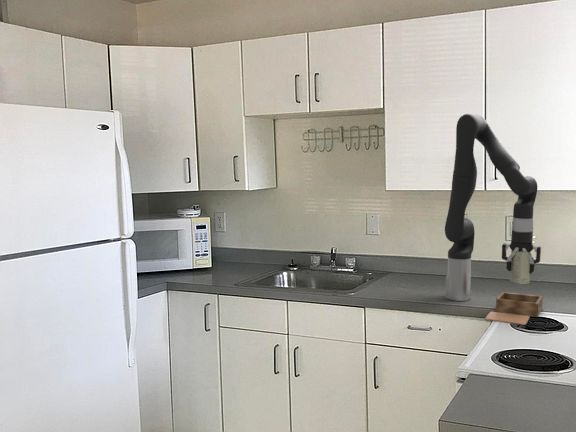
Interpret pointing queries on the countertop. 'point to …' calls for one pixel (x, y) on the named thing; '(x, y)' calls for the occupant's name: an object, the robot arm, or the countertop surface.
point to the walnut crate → (519, 304)
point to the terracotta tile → (507, 318)
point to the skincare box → (520, 268)
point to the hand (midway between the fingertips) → (520, 272)
